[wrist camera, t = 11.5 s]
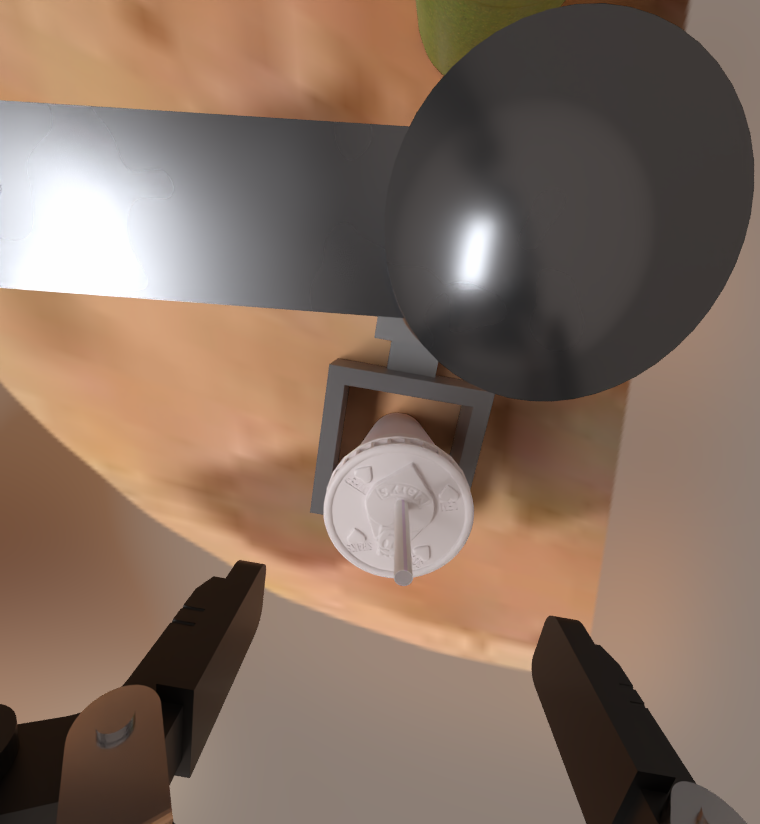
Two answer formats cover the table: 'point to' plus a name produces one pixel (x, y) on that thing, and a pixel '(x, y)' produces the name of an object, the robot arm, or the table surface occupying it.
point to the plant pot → (468, 24)
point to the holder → (405, 376)
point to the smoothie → (398, 502)
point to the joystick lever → (422, 204)
